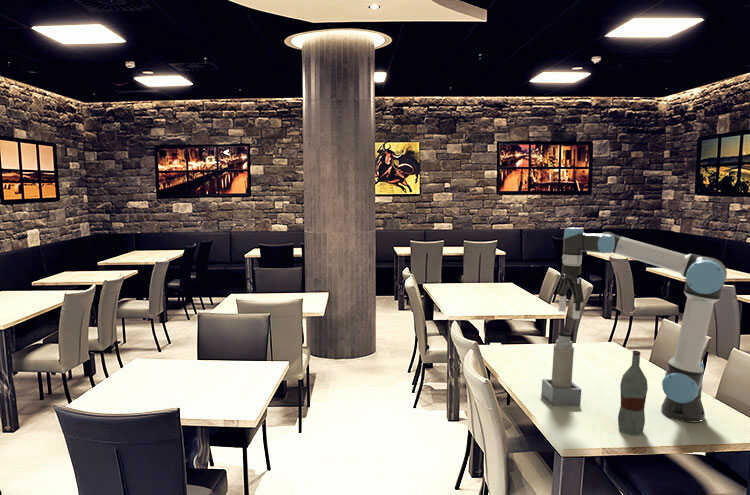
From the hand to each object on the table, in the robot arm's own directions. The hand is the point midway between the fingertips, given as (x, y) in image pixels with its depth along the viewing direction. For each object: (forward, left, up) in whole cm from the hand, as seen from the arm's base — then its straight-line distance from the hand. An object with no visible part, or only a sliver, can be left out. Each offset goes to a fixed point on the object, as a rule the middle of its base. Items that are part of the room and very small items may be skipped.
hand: (568, 314), depth 228 cm
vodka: (-31, -13, -37) cm, 50 cm away
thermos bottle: (-2, +2, -36) cm, 36 cm away
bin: (-2, +2, -37) cm, 37 cm away
